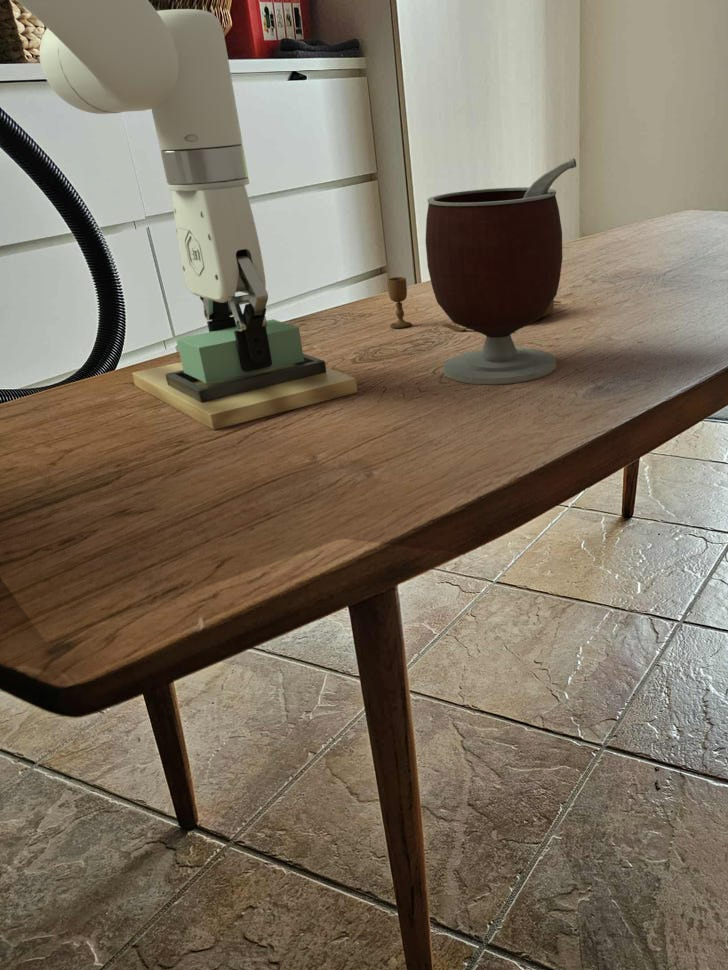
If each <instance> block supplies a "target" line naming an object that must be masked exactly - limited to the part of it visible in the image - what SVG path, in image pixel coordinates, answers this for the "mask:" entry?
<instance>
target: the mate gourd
mask: <svg viewBox="0 0 728 970" xmlns="http://www.w3.org/2000/svg"><path fill="white" fill-rule="evenodd" d="M574 168H577V160H576V158H571V159H569V160H567V161H565V162H563V163H560V164H558V165H557V166H555V167H554V168H552V169H550V170H549V171H547V172H546V173H544V174H541V176H540V177H538V179H535V181H534V182H533V183H532V184H531V185H530V187H529V186H528V187H527V186H524V187H521V186H519V187H494V188H482V189H481V188H480V189H471V190H462V191H455V192H449V193H448V192H447V193H442V194H438V195H434V196H433V195H432V196H431V197H429V198H427V203H428V204H427V212H426V221H425V222H426V223H425V251H426V262H427V270H428V275H429V279H430V283H431V288H432V290H433V294H434V297H435V300H436V302H437V304H438V305H439V307H440V308H441V309H442V310H443V312H444V313H445V314H446V315H447V317H448V318H449V319H450V320H451V322H452V323H454V324H456V325H458V326H460V327H462V328H469V329H468V330H472V331H474V332H476V333H479V334H482V335H484V336H485V337H486V338H485V340H484V344H483V347H482V349H479V350H474V351H468V352H465V353H460V354H458V355H455V356H453V357H451V358H449V359H448V360H446V362H444V363H443V373H444V375H445V377H447V378H448V379H450V380H452V381H456V382H459V383H464V384H471V385H508V384H517V383H518V384H519V383H524V382H528V381H532V380H536V379H540V378H543V377H545V376H548V375H549V374H551V373H553V372H554V371H555V370H556V368H557V358H556V357H555V355H554V354H553V353H549V352H547V351H544V350H542V349H541V350H540V349H535V348H528V347H527V348H525V347H516V345H515V343H514V341H513V338H512V334H513V333H515V332H517V331H519V330H521V329H523V328H524V327H526V326H529V325H530V324H533V323H534V322H536V321H539V320H541V319H542V318H541V317H542V316H543V315H544V313H545V312H546V310H547V309H548V307H549V306H550V304H551V302H552V301H553V300H554V299H555V298H556V296H557V294H558V290H559V286H560V280H561V272H562V266H563V228H562V222H561V216H560V215H561V214H560V208H559V204H558V200H557V197H556V195H557V190H556V189H553V188H551V186H552V185H553V184H554V182H555V181H556V180H557V179H558V178H559V177H560V176H561V175H562V174H564V173H565V172H566V171H568V170H570V169H574ZM540 318H541V319H540ZM538 319H539V320H538ZM553 370H554V371H553Z"/></svg>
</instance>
